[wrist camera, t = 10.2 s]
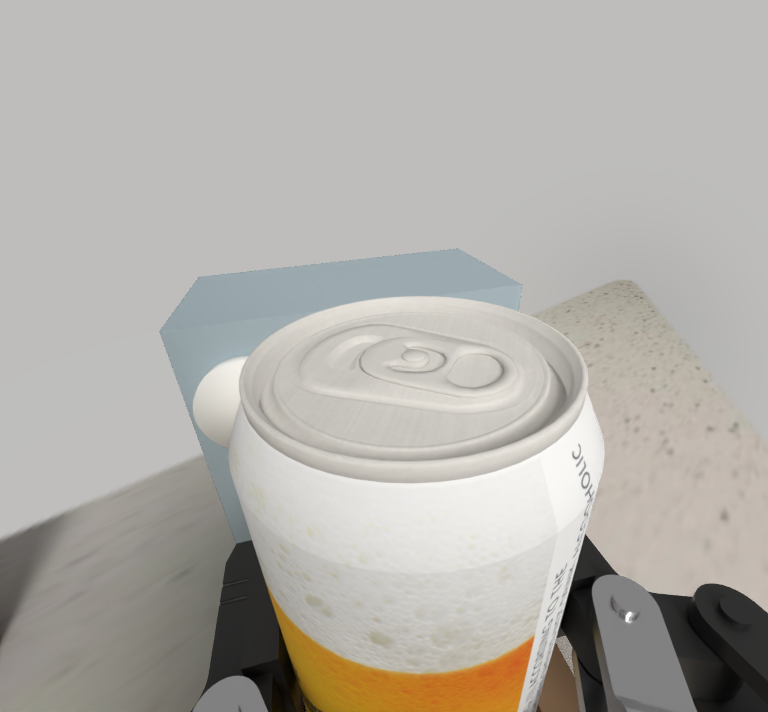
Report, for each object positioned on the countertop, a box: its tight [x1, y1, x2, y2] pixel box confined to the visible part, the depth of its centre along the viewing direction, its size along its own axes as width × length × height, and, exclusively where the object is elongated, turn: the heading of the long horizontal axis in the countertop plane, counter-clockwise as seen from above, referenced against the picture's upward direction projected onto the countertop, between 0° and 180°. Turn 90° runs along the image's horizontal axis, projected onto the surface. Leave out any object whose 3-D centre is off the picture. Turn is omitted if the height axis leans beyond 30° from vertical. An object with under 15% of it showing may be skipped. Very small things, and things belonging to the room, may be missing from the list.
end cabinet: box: [160, 249, 522, 544], centre depth 18 cm, size 12×6×14 cm, turn 103°
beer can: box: [228, 296, 605, 712], centre depth 10 cm, size 6×6×15 cm
